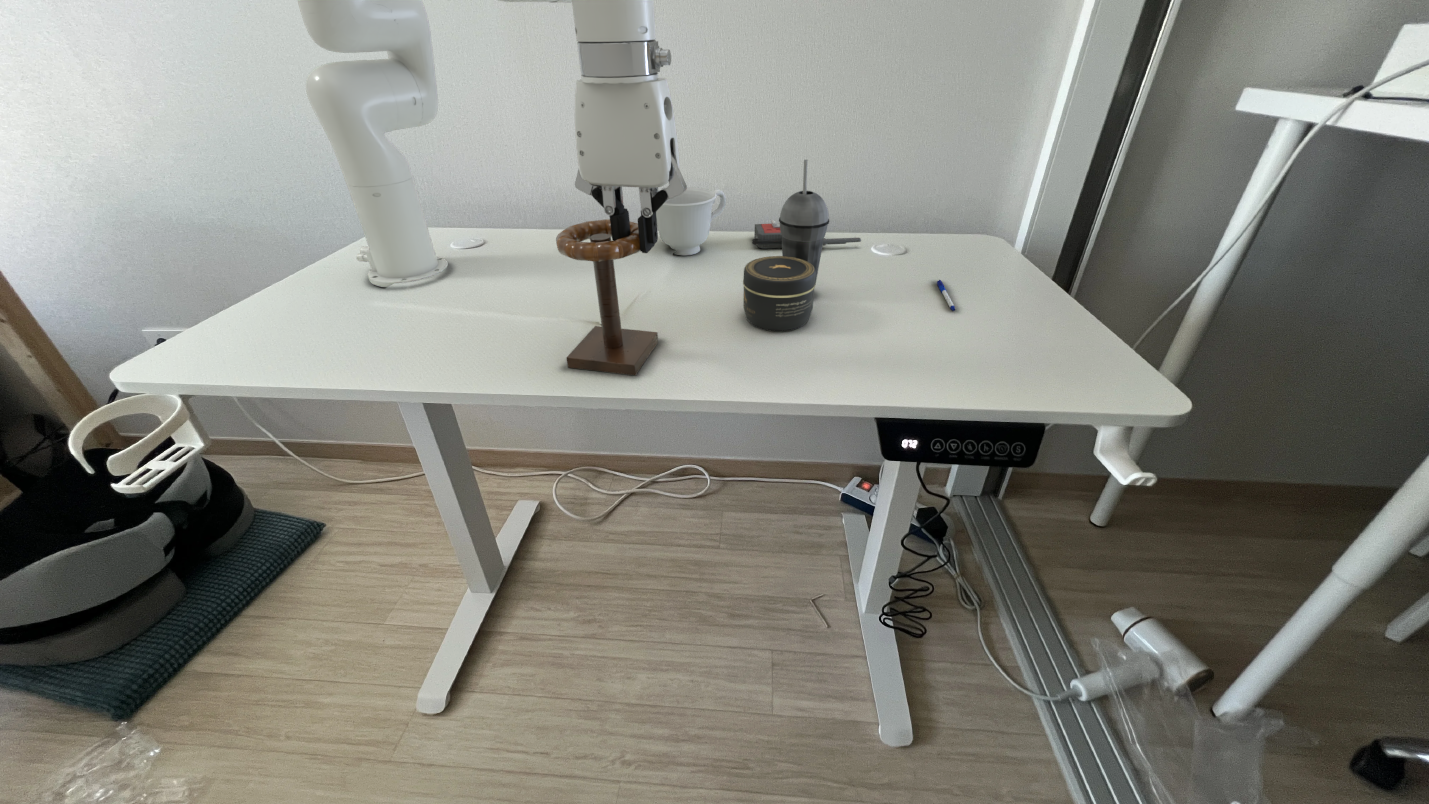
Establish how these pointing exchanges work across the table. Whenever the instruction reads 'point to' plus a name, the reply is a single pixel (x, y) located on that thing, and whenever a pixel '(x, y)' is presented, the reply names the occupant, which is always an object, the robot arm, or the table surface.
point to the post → (611, 330)
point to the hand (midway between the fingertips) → (635, 247)
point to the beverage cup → (804, 225)
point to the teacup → (688, 219)
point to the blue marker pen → (945, 294)
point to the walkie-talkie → (772, 236)
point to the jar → (778, 292)
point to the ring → (599, 251)
